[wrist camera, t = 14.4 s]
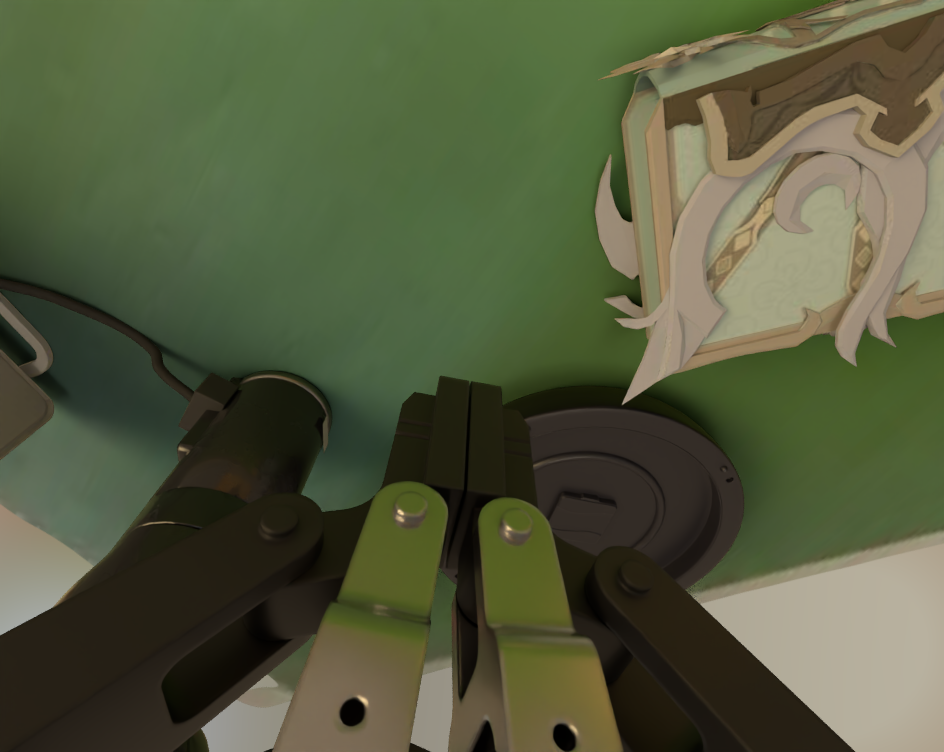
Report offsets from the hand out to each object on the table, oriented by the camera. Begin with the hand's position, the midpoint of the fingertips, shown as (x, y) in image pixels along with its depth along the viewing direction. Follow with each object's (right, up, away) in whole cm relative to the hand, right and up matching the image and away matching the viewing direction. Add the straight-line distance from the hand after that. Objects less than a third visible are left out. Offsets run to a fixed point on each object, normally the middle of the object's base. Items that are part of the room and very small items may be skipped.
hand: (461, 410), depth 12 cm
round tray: (+11, -11, +39) cm, 42 cm away
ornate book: (+23, +15, +22) cm, 35 cm away
